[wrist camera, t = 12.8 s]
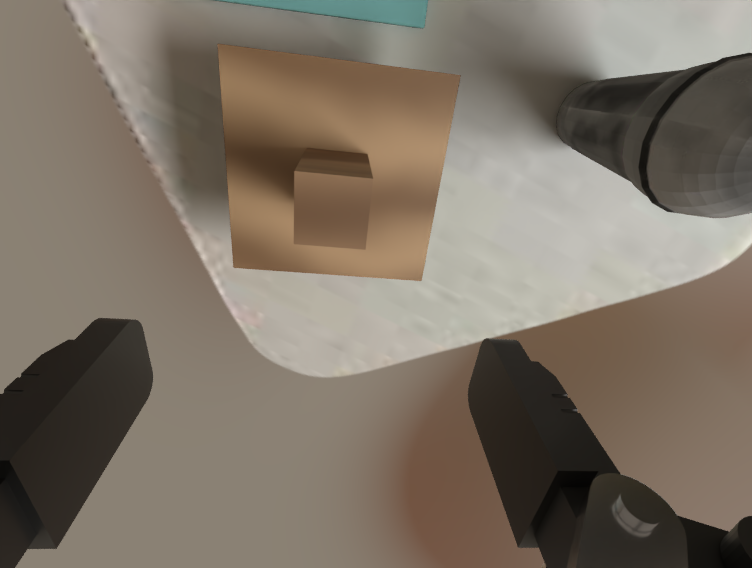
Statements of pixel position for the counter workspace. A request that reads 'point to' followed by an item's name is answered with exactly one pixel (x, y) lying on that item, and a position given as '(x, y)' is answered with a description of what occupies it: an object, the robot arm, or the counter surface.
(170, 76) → the counter surface
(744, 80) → the beverage cup
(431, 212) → the lid
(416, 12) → the mat
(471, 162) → the counter surface
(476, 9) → the counter surface
